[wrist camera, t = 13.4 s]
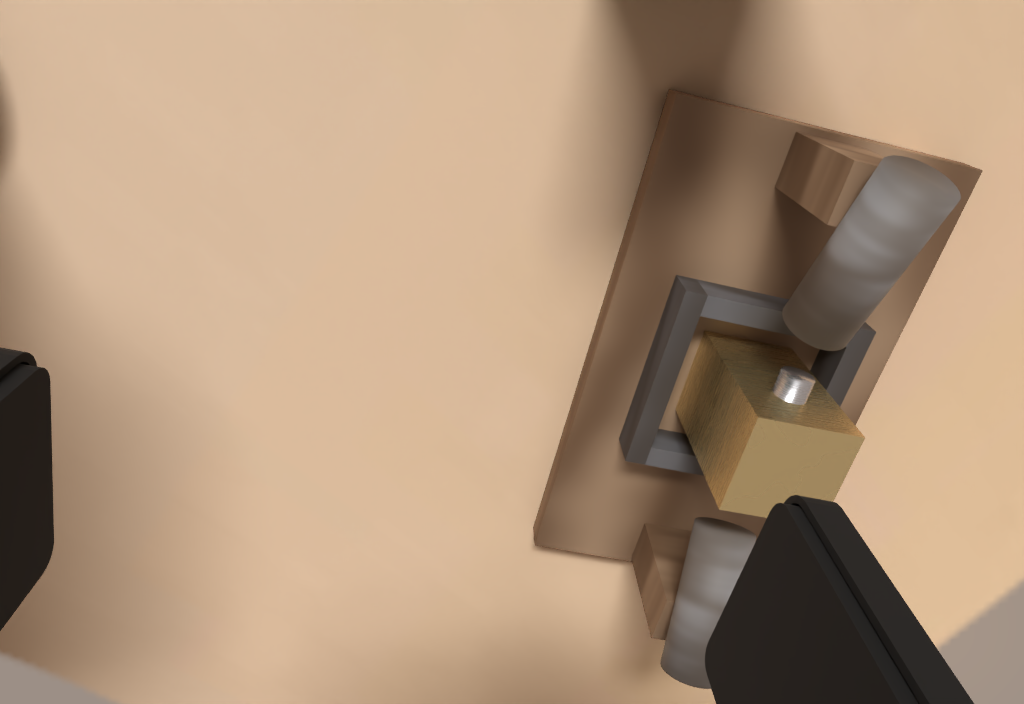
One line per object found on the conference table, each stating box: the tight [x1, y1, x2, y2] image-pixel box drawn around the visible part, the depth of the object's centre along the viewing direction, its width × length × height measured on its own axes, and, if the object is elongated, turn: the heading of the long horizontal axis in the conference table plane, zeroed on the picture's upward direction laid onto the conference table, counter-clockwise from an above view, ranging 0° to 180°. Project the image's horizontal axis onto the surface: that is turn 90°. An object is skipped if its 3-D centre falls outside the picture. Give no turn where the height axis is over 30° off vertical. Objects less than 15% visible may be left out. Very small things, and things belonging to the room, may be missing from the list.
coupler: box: [676, 330, 865, 518], centre depth 34 cm, size 6×4×8 cm
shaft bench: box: [533, 89, 982, 689], centre depth 34 cm, size 14×24×10 cm, turn 167°
